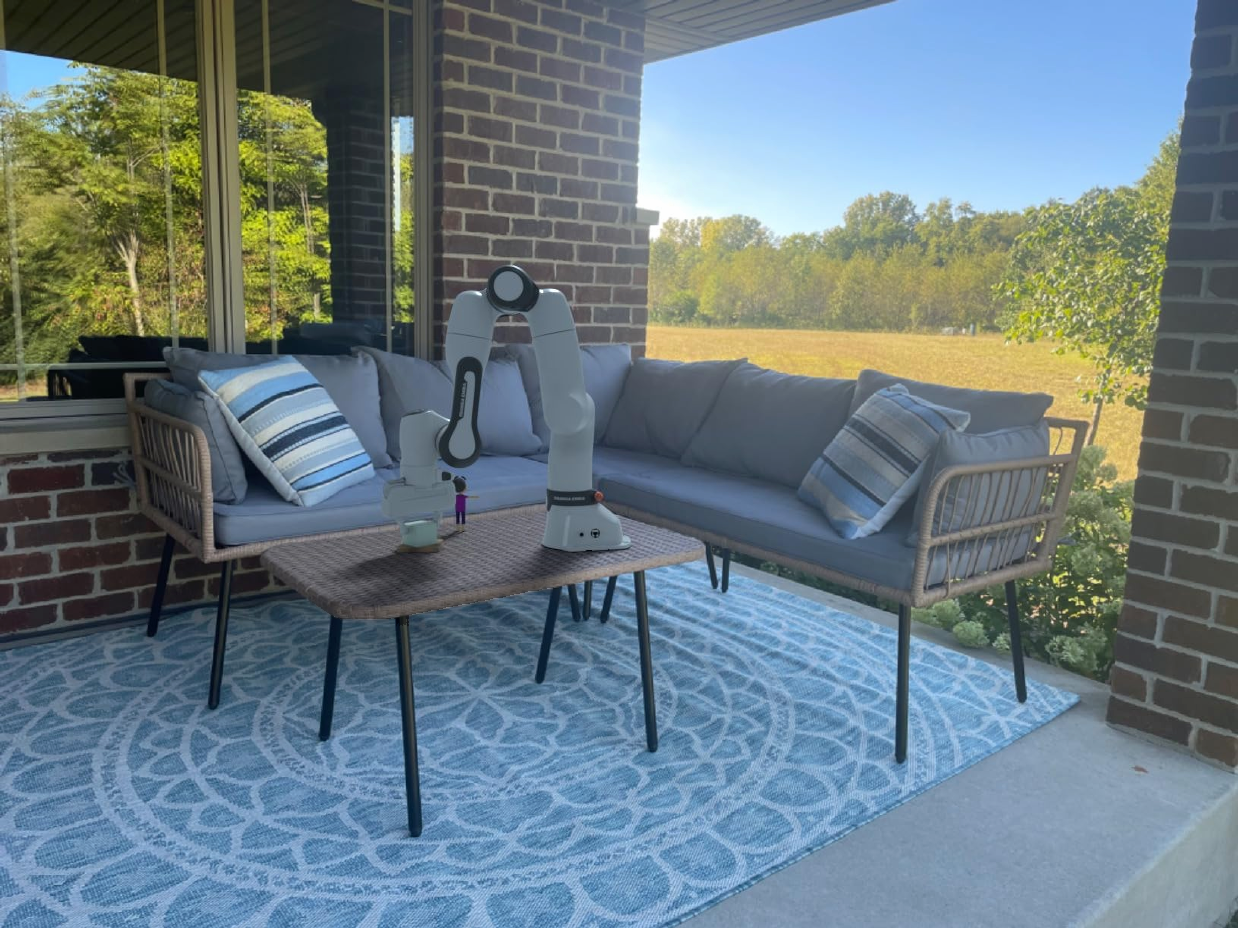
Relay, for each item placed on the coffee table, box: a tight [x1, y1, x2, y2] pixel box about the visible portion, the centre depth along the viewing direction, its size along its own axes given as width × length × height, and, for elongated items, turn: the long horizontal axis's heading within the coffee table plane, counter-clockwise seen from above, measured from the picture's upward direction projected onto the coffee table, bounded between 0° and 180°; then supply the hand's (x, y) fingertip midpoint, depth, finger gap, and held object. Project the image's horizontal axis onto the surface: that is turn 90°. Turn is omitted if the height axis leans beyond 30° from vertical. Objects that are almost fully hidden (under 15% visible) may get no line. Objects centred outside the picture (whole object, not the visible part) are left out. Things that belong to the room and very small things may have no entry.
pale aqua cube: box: [401, 519, 438, 547], centre depth 220 cm, size 6×6×5 cm
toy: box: [452, 475, 480, 532], centre depth 239 cm, size 10×6×15 cm, turn 82°
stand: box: [396, 538, 444, 553], centre depth 220 cm, size 10×10×5 cm
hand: (420, 531), depth 220 cm, fingers open, 8 cm apart
